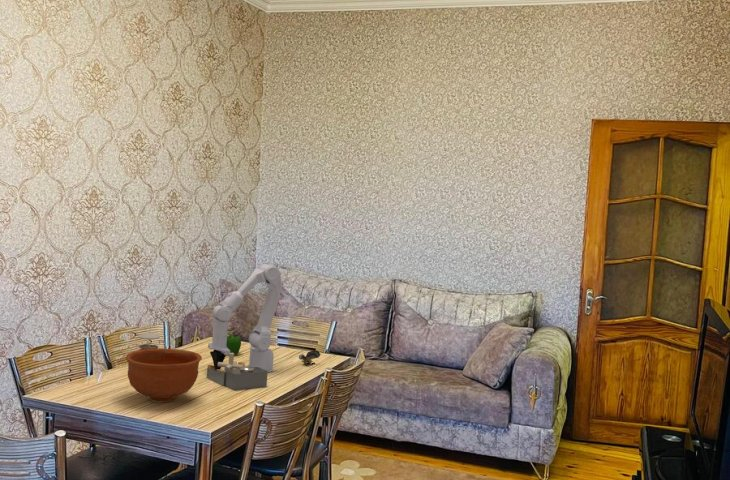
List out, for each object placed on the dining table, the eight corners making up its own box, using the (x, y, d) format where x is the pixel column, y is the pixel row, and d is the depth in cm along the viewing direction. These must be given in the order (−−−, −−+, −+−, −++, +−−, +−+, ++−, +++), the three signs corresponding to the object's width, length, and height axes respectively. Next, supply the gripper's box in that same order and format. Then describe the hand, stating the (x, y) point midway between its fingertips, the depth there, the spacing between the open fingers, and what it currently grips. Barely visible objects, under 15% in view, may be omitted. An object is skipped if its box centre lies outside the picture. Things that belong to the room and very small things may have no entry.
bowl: (210, 395, 252) (213, 353, 251) (176, 413, 227) (180, 367, 227) (147, 386, 257) (150, 345, 256) (107, 403, 233) (110, 357, 232)
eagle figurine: (315, 365, 306) (324, 358, 314) (307, 351, 306) (316, 344, 314) (302, 372, 309) (311, 365, 317) (294, 358, 309) (303, 351, 317)
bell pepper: (243, 353, 323) (244, 332, 323) (235, 357, 315) (237, 334, 315) (226, 351, 325) (227, 330, 325) (218, 354, 317) (220, 332, 317)
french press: (134, 367, 282) (138, 305, 281) (164, 368, 285) (168, 306, 284) (134, 373, 272) (138, 309, 271) (165, 374, 276) (169, 310, 275)
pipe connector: (238, 383, 271) (240, 357, 271) (213, 380, 273) (214, 354, 272) (245, 377, 281) (247, 352, 280) (221, 373, 282) (223, 349, 282)
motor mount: (240, 374, 285) (241, 356, 285) (267, 386, 270) (269, 368, 269) (206, 377, 276) (207, 359, 275) (232, 390, 260) (234, 371, 260)
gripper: (202, 332, 287) (199, 366, 287) (219, 339, 276) (217, 374, 276) (217, 332, 291) (215, 364, 292) (235, 338, 280) (233, 372, 281)
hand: (217, 369), depth 284 cm, fingers closed
